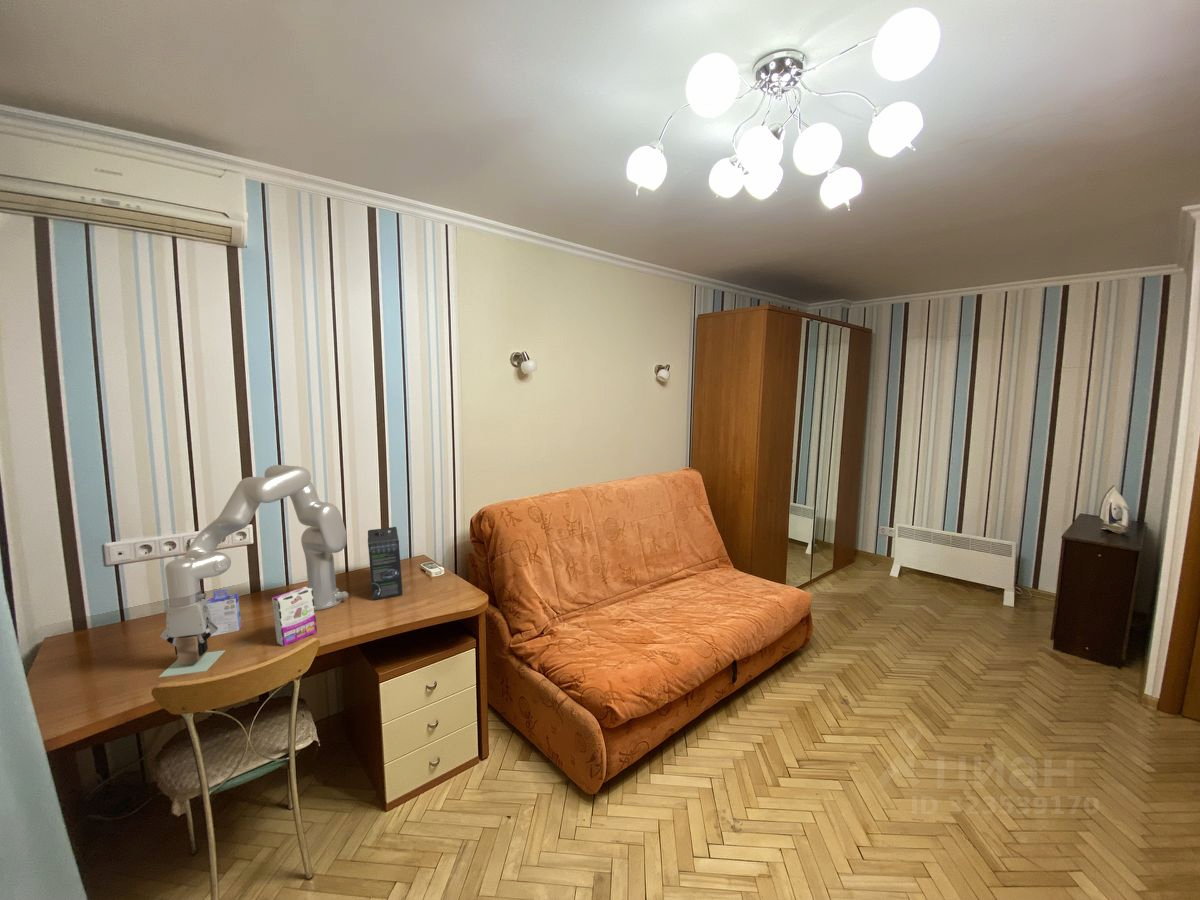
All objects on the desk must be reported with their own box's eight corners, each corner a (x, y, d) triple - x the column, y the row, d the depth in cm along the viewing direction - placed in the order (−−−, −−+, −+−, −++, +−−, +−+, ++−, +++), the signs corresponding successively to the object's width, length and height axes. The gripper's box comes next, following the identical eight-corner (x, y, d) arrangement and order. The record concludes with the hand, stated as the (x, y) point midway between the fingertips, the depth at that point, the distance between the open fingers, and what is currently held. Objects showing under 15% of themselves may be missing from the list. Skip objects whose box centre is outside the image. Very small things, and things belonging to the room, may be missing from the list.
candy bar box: (310, 629, 173) (306, 585, 171) (317, 633, 170) (313, 588, 168) (275, 643, 163) (271, 597, 161) (283, 647, 161) (278, 600, 158)
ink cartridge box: (242, 624, 177) (238, 586, 175) (240, 630, 172) (235, 591, 170) (207, 631, 172) (203, 592, 170) (204, 638, 167) (199, 598, 166)
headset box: (371, 581, 216) (367, 525, 212) (400, 577, 221) (397, 521, 217) (371, 601, 195) (366, 539, 192) (403, 595, 200) (399, 535, 197)
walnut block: (206, 653, 154) (203, 629, 153) (197, 661, 149) (194, 637, 148) (187, 655, 153) (184, 631, 152) (178, 664, 148) (175, 639, 147)
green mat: (225, 651, 159) (225, 650, 159) (206, 671, 147) (205, 670, 147) (181, 656, 156) (181, 655, 155) (158, 678, 144) (158, 677, 144)
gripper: (223, 591, 154) (229, 644, 157) (159, 597, 150) (166, 652, 152) (211, 600, 147) (218, 657, 149) (144, 607, 143) (151, 665, 145)
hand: (192, 654), depth 151 cm, fingers closed on walnut block, 5 cm apart
